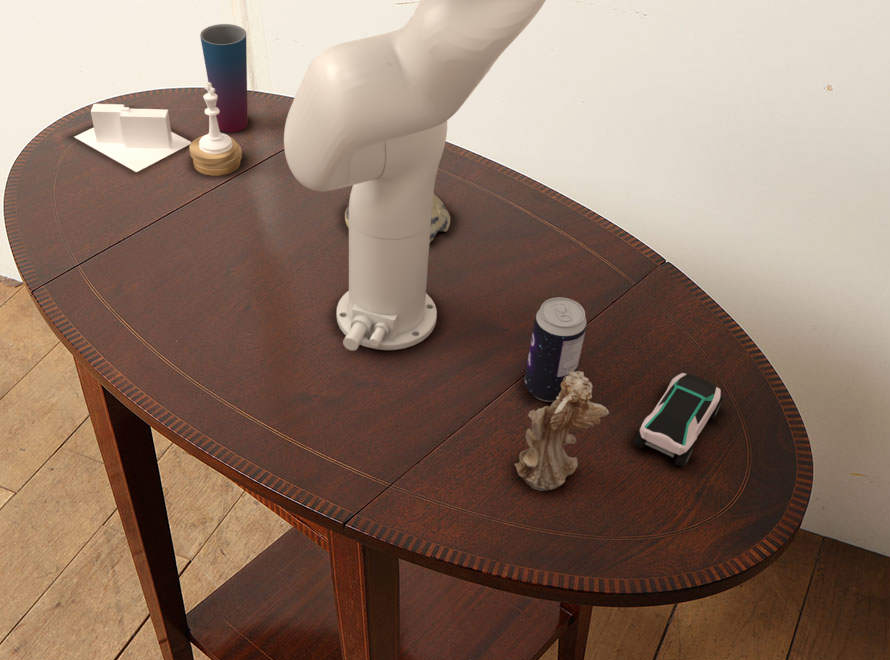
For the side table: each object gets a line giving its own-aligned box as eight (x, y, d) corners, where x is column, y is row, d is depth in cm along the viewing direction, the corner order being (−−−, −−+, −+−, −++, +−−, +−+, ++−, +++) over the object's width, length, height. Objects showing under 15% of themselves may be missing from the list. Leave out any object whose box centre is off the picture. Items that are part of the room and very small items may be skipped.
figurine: (566, 448, 109) (590, 349, 99) (589, 489, 105) (616, 390, 95) (504, 461, 108) (521, 362, 97) (525, 503, 104) (545, 404, 93)
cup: (234, 140, 154) (226, 48, 143) (201, 127, 156) (190, 36, 146) (262, 121, 158) (255, 31, 147) (228, 109, 160) (220, 19, 150)
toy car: (629, 451, 109) (639, 418, 106) (671, 389, 116) (682, 356, 113) (680, 475, 107) (691, 442, 103) (719, 409, 114) (731, 377, 110)
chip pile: (228, 181, 145) (226, 163, 143) (183, 170, 147) (180, 153, 145) (250, 155, 150) (248, 138, 148) (206, 145, 152) (204, 128, 150)
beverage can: (563, 370, 118) (579, 292, 110) (577, 403, 114) (596, 325, 106) (517, 375, 118) (530, 297, 109) (530, 408, 114) (545, 331, 105)
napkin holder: (193, 142, 153) (189, 108, 149) (137, 172, 146) (131, 138, 142) (129, 109, 159) (123, 76, 155) (72, 137, 153) (65, 103, 149)
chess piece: (216, 158, 144) (209, 95, 137) (192, 146, 146) (184, 84, 139) (239, 144, 147) (233, 82, 140) (215, 133, 149) (208, 71, 142)
